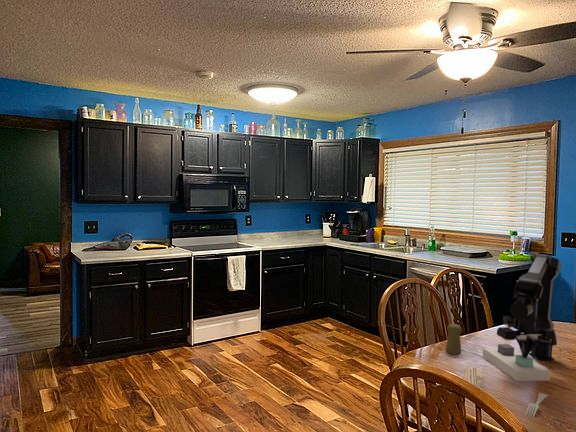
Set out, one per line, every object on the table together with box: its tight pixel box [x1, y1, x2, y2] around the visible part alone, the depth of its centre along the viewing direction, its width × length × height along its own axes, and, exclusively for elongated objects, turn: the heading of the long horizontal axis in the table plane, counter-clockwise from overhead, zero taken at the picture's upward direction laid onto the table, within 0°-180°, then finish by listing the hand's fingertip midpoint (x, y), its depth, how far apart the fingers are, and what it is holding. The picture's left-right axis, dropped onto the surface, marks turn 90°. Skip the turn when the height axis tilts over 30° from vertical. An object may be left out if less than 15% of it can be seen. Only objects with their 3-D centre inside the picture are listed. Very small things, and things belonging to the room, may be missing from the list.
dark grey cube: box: [497, 343, 515, 356], centre depth 167 cm, size 4×4×4 cm
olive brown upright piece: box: [445, 323, 462, 355], centre depth 177 cm, size 6×6×11 cm
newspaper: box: [463, 366, 485, 391], centre depth 148 cm, size 24×7×2 cm, turn 158°
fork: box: [525, 392, 549, 419], centre depth 134 cm, size 3×21×3 cm, turn 139°
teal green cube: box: [515, 355, 534, 367], centre depth 156 cm, size 4×4×4 cm
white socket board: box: [482, 347, 551, 382], centre depth 162 cm, size 12×22×4 cm, turn 6°
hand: (524, 357), depth 156 cm, fingers closed, pressing on teal green cube
